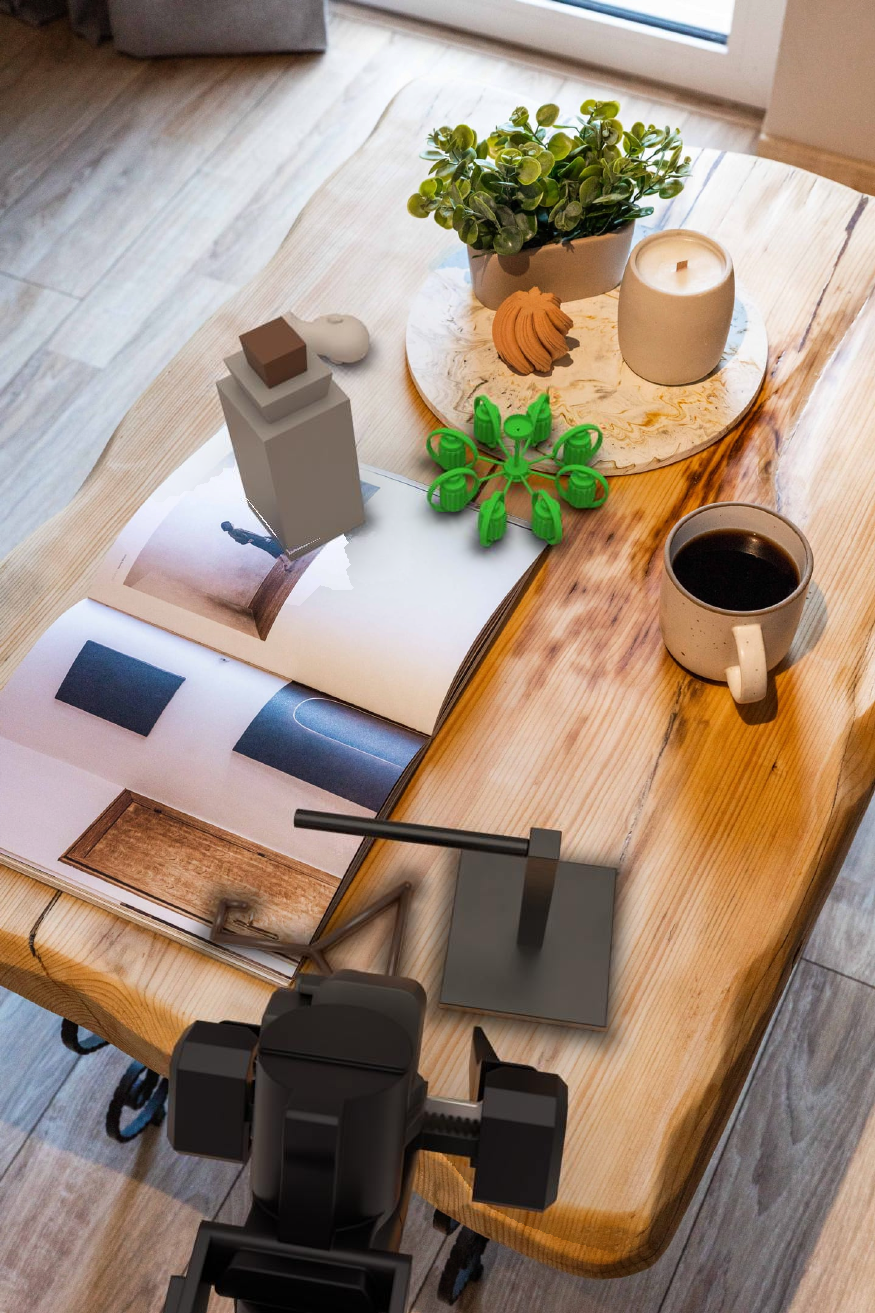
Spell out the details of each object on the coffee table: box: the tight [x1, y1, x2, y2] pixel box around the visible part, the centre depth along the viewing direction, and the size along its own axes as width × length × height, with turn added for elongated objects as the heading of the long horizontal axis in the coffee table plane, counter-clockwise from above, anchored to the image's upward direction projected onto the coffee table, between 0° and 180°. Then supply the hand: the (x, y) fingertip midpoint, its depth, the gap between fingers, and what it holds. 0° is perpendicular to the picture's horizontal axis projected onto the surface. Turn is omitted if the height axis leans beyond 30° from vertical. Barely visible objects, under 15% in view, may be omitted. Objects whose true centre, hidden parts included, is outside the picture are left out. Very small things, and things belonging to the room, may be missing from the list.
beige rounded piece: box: [281, 311, 371, 365], centre depth 96 cm, size 4×8×5 cm
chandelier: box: [425, 392, 610, 548], centre depth 86 cm, size 15×15×7 cm
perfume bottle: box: [215, 315, 366, 563], centre depth 80 cm, size 7×7×18 cm
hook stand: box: [293, 808, 618, 1033], centre depth 63 cm, size 10×18×16 cm, turn 82°
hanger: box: [209, 880, 414, 976], centre depth 69 cm, size 11×1×12 cm
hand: (393, 1021), depth 61 cm, fingers open, 9 cm apart
